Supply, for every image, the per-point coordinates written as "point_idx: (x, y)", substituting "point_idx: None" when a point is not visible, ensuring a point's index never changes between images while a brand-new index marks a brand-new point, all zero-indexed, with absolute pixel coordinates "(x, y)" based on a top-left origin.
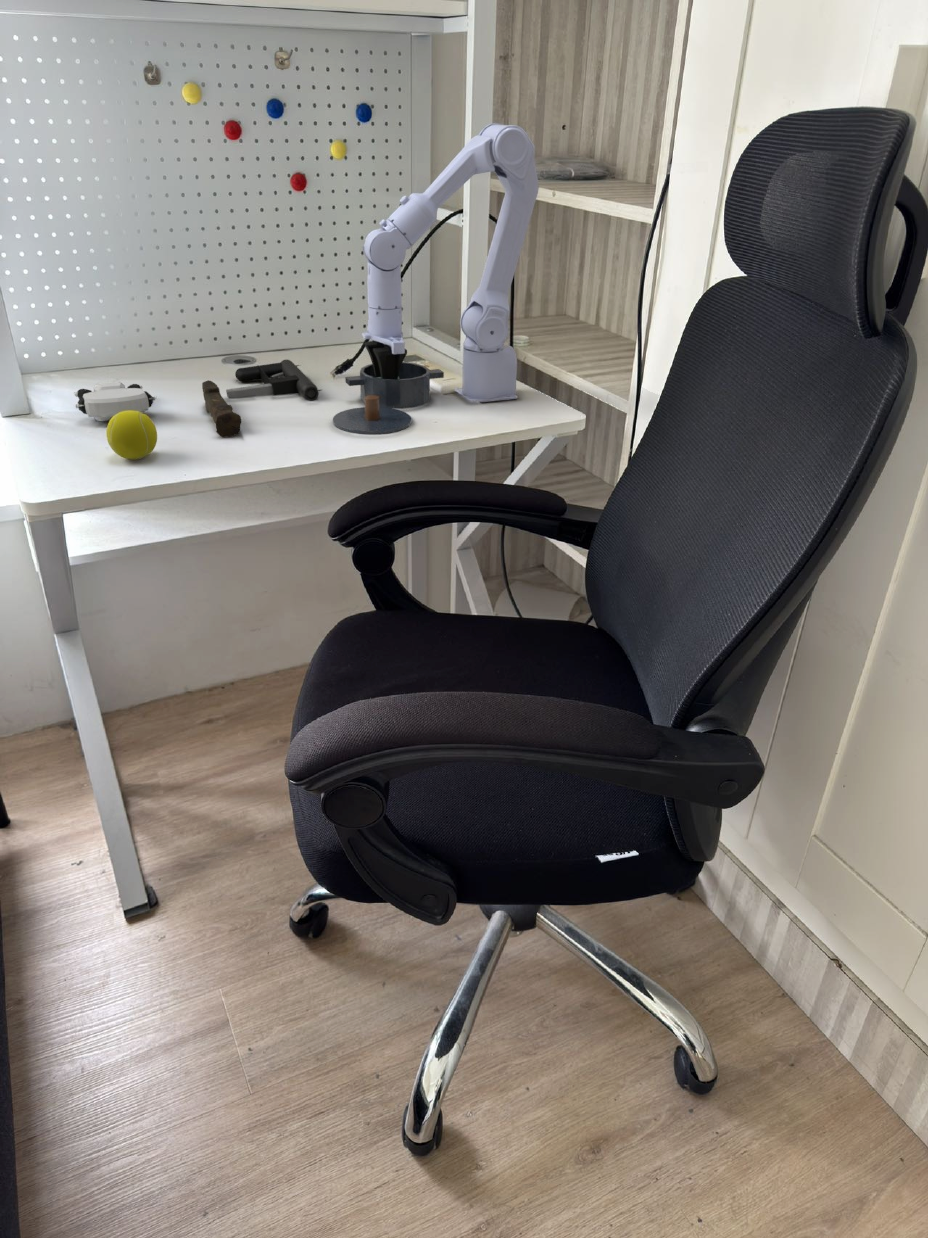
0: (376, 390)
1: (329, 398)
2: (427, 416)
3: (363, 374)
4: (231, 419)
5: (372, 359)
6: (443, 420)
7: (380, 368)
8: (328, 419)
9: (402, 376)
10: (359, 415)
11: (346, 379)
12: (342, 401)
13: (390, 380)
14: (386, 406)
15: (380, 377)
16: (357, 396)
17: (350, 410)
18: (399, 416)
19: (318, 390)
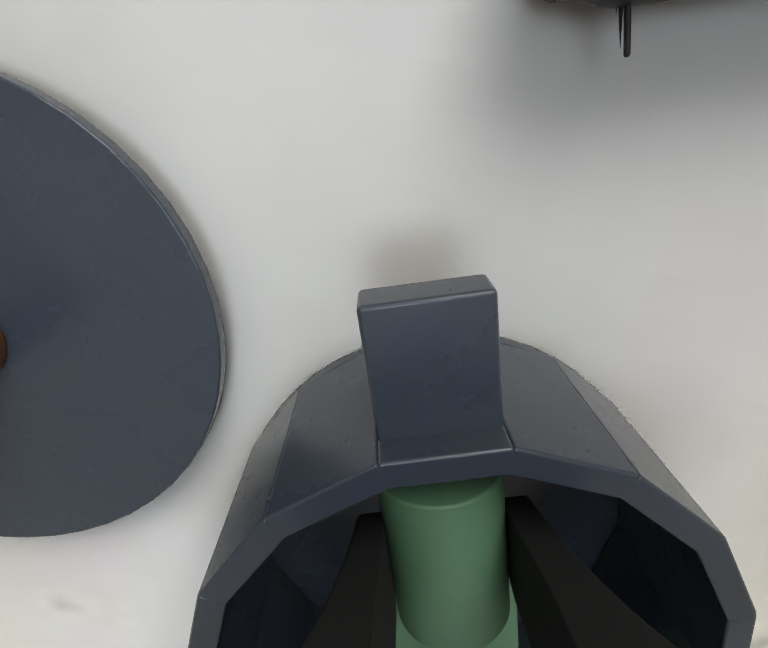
0: (269, 467)
1: (622, 128)
2: (158, 590)
3: (399, 462)
4: None
5: (587, 640)
6: (95, 635)
7: (340, 638)
8: (100, 38)
9: None
10: (19, 267)
11: (448, 289)
12: (520, 213)
13: (193, 618)
14: (251, 453)
15: (448, 553)
16: (600, 326)
17: (137, 223)
18: (20, 487)
19: (622, 13)
